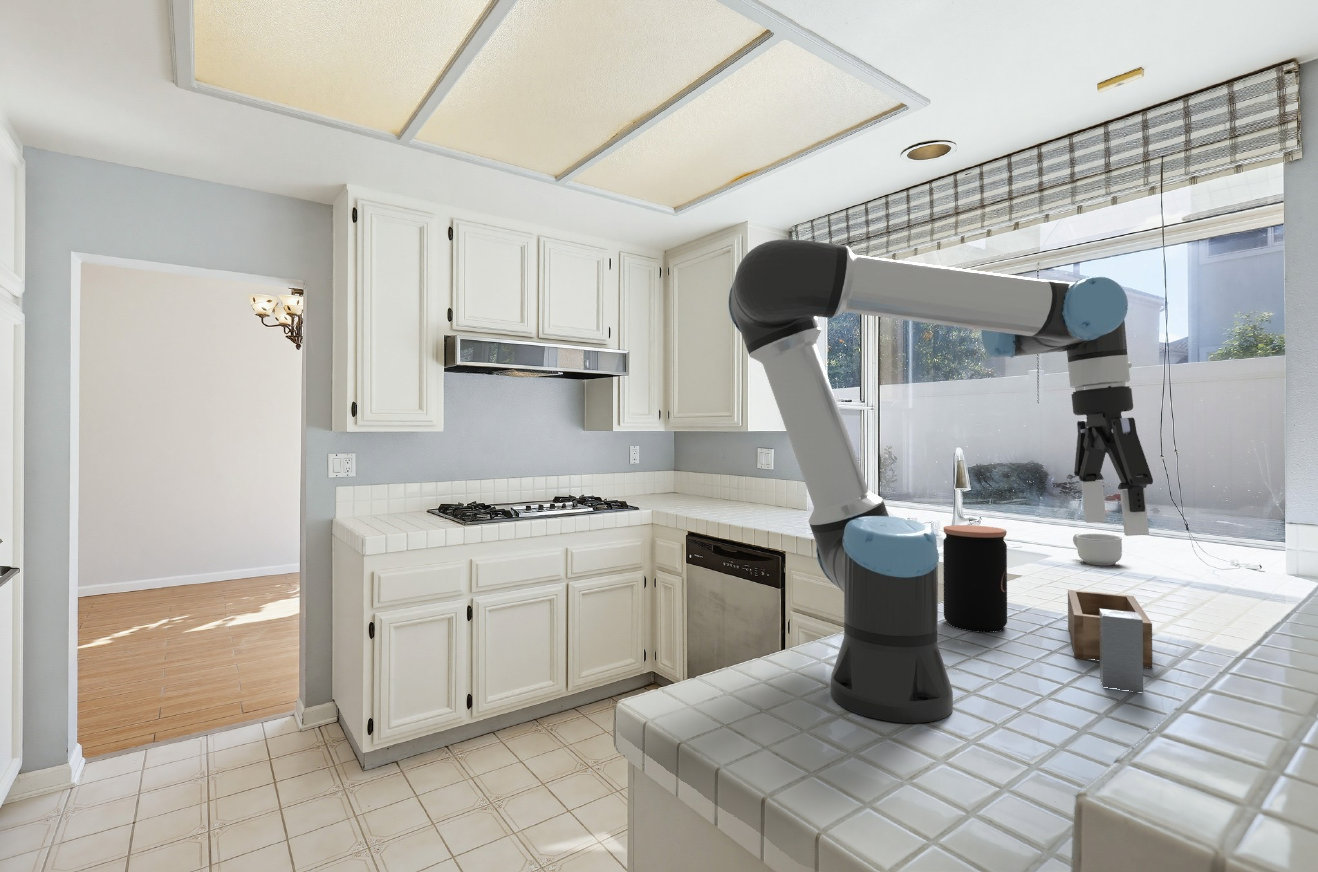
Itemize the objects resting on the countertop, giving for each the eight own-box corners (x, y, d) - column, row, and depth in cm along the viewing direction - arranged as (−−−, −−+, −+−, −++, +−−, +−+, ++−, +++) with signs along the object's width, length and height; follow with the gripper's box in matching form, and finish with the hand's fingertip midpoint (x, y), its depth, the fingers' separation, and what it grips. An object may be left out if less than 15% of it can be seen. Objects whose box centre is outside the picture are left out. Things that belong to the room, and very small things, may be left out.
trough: (1074, 657, 102) (1074, 614, 103) (1067, 626, 120) (1067, 589, 120) (1152, 668, 98) (1152, 623, 98) (1133, 634, 115) (1133, 595, 115)
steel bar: (1102, 687, 90) (1102, 615, 90) (1099, 677, 94) (1099, 608, 94) (1143, 694, 88) (1142, 620, 88) (1138, 683, 92) (1137, 612, 92)
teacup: (1131, 567, 179) (1131, 538, 179) (1091, 567, 179) (1091, 538, 179) (1098, 558, 193) (1097, 531, 193) (1061, 558, 193) (1061, 531, 193)
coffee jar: (1015, 635, 115) (1015, 533, 115) (951, 631, 117) (950, 531, 117) (996, 619, 125) (996, 525, 125) (937, 616, 127) (937, 524, 128)
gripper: (1173, 377, 85) (1190, 539, 84) (1093, 390, 109) (1106, 515, 109) (1108, 384, 87) (1125, 543, 86) (1044, 394, 111) (1057, 518, 110)
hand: (1115, 528), depth 97 cm, fingers open, 13 cm apart
